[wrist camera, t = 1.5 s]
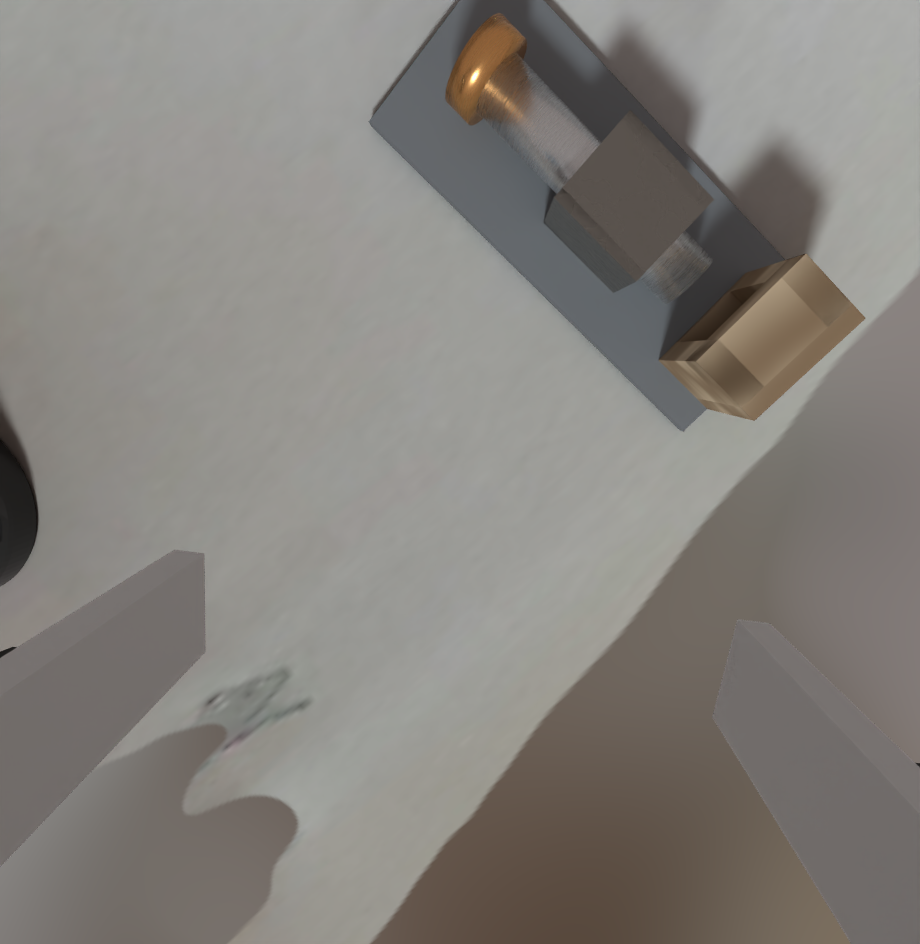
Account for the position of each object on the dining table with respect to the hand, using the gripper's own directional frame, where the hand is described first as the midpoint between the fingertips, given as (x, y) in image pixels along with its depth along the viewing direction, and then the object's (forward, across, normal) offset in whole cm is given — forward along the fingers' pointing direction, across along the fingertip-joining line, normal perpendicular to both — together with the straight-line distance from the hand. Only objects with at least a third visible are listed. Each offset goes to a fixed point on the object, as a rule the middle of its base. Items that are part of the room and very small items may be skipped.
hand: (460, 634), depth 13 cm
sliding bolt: (+22, +4, +17) cm, 28 cm away
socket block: (+23, +14, +9) cm, 28 cm away
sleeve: (+23, +6, +15) cm, 28 cm away
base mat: (+23, +5, +16) cm, 28 cm away
